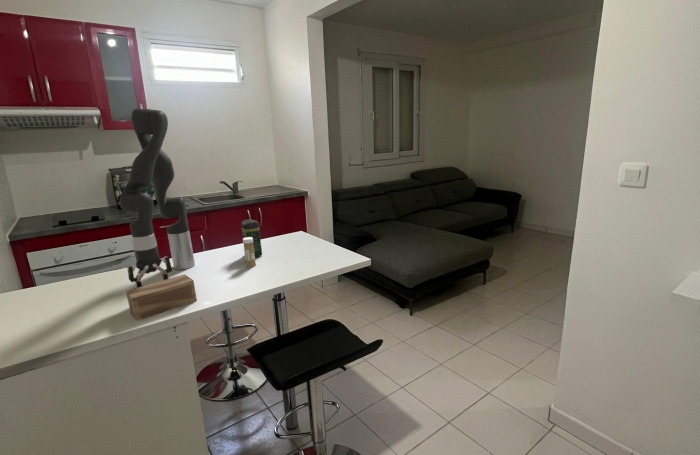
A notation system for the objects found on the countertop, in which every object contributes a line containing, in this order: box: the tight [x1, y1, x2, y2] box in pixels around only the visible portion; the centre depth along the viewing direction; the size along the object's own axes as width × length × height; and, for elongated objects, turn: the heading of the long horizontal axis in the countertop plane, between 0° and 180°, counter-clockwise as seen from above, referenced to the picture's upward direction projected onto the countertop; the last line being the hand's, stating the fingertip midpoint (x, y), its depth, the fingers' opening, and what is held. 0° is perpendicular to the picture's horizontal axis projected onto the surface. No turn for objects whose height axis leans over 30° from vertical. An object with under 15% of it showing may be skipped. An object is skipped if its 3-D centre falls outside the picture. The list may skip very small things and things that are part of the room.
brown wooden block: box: [125, 273, 198, 322], centre depth 128 cm, size 9×20×8 cm, turn 133°
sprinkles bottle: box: [242, 237, 257, 268], centre depth 165 cm, size 5×5×13 cm
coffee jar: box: [240, 218, 263, 259], centre depth 178 cm, size 10×8×19 cm
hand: (153, 286), depth 135 cm, fingers open, 8 cm apart
